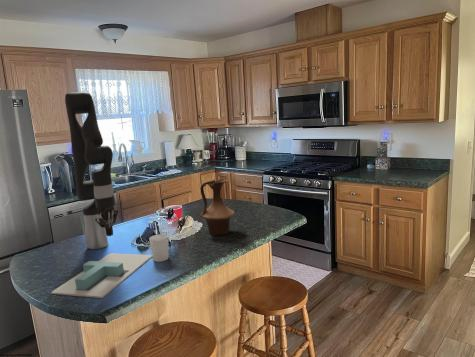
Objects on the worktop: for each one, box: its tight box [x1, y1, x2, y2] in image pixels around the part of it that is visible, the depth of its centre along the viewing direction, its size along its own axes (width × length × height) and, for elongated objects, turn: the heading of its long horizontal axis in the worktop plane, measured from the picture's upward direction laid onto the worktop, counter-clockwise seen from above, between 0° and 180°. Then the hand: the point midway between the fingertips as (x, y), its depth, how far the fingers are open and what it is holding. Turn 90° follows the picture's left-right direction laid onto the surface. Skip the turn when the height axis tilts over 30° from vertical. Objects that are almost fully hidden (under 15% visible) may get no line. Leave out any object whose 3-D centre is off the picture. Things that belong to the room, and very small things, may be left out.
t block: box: [75, 260, 124, 290], centre depth 144 cm, size 16×16×4 cm
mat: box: [50, 252, 153, 299], centre depth 151 cm, size 22×37×1 cm, turn 164°
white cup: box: [148, 233, 169, 263], centre depth 161 cm, size 8×8×10 cm
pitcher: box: [200, 179, 235, 236], centre depth 189 cm, size 18×17×28 cm
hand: (109, 235), depth 154 cm, fingers closed
